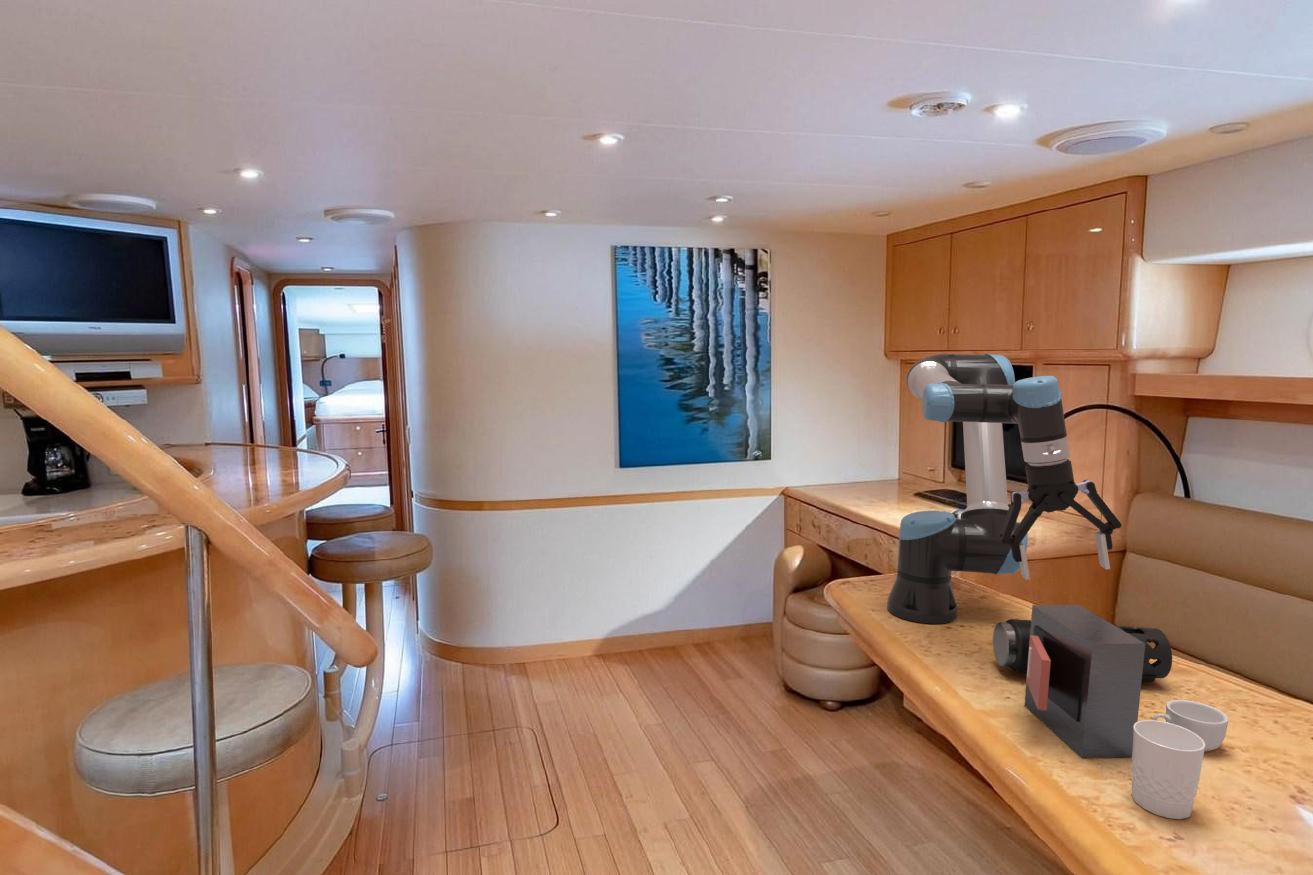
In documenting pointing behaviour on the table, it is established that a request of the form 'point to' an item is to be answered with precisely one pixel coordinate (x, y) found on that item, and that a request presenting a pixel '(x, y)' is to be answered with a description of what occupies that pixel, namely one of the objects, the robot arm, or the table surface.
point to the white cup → (1165, 768)
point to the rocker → (1038, 672)
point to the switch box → (1088, 680)
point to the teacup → (1198, 720)
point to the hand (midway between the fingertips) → (1065, 572)
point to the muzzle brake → (1016, 632)
